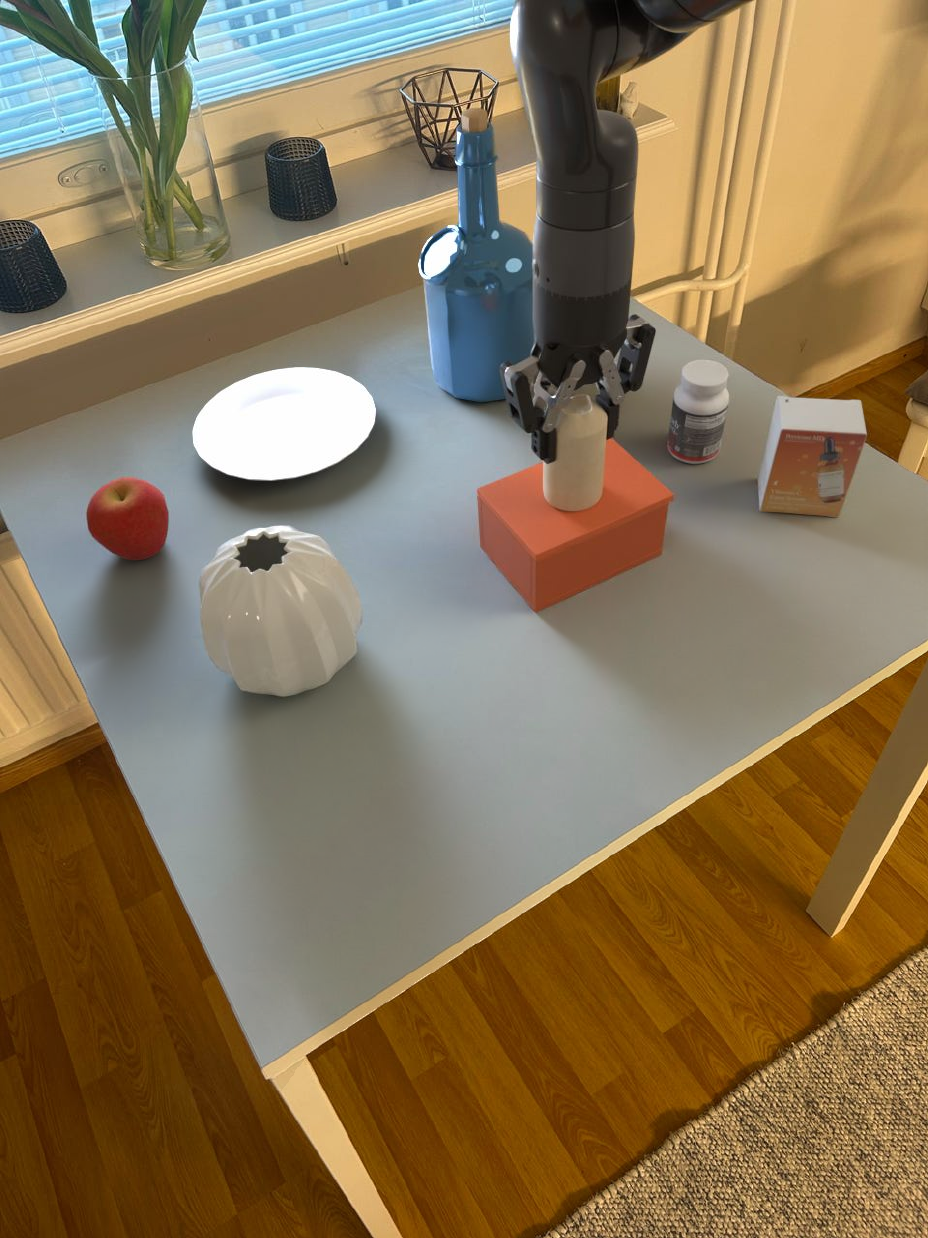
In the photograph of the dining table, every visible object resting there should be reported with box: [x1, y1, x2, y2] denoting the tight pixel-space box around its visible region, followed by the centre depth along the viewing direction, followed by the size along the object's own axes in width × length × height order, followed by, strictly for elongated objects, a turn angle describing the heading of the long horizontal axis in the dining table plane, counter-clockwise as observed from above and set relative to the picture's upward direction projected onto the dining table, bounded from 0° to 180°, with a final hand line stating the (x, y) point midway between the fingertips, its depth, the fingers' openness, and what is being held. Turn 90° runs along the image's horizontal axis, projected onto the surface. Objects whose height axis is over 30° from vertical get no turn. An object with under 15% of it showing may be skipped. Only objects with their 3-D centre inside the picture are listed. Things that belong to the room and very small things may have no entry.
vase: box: [198, 525, 363, 698], centre depth 81 cm, size 14×14×13 cm
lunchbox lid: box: [476, 438, 675, 561], centre depth 88 cm, size 15×11×1 cm
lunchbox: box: [476, 495, 670, 613], centre depth 90 cm, size 15×11×7 cm
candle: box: [542, 394, 608, 511], centre depth 83 cm, size 6×6×10 cm
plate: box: [192, 366, 377, 482], centre depth 107 cm, size 21×21×2 cm
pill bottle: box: [666, 359, 730, 465], centre depth 99 cm, size 6×6×10 cm
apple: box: [85, 476, 170, 561], centre depth 94 cm, size 8×8×8 cm
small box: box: [757, 395, 868, 518], centre depth 92 cm, size 8×6×10 cm
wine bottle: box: [418, 107, 538, 403], centre depth 103 cm, size 14×13×30 cm
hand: (575, 445), depth 83 cm, fingers closed on candle, 5 cm apart
